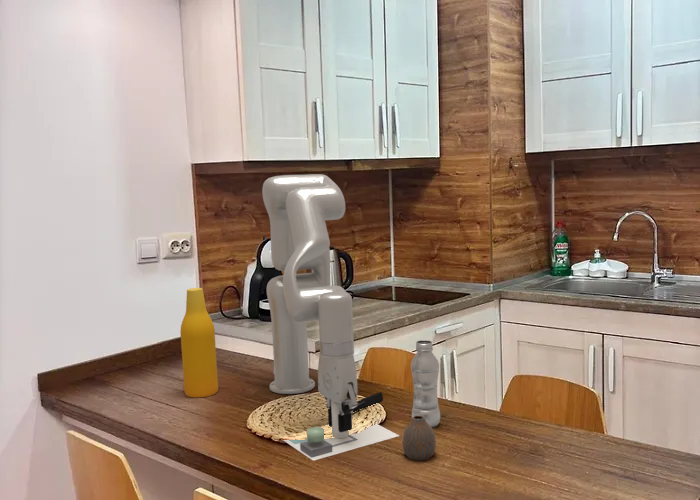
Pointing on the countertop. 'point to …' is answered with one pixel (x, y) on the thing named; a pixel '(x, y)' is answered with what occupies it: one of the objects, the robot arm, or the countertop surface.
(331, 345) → the robot arm
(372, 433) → the sheet
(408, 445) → the vase
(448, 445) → the countertop surface
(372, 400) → the electric trimmer
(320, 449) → the button housing
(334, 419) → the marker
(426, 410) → the plastic bottle
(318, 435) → the button
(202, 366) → the beer bottle
